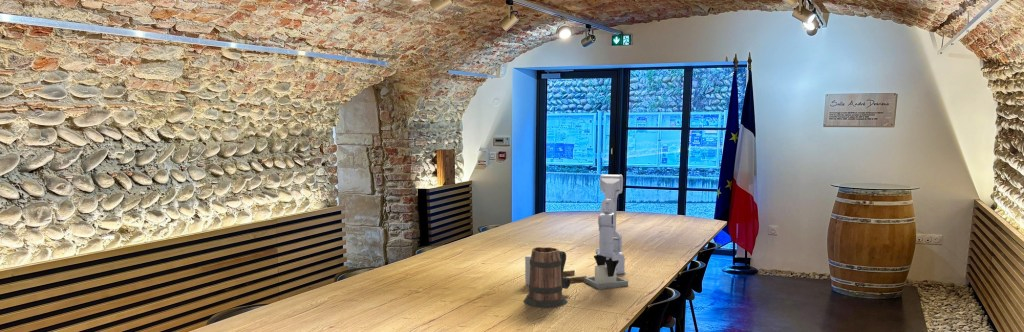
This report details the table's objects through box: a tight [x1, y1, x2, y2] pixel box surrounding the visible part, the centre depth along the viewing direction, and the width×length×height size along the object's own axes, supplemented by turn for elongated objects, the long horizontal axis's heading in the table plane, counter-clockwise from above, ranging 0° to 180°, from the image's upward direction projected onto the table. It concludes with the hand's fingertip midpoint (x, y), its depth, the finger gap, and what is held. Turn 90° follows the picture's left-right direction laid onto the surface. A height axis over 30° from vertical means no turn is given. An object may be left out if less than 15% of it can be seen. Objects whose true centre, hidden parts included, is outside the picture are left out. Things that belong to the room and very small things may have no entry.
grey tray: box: [583, 275, 629, 290], centre depth 269 cm, size 14×12×2 cm
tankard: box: [522, 246, 572, 309], centre depth 246 cm, size 24×17×20 cm
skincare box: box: [524, 254, 531, 286], centre depth 268 cm, size 6×4×12 cm
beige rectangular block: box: [594, 265, 617, 284], centre depth 268 cm, size 9×4×7 cm, turn 112°
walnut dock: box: [563, 269, 588, 284], centre depth 277 cm, size 10×12×2 cm
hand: (606, 274), depth 268 cm, fingers open, 7 cm apart
